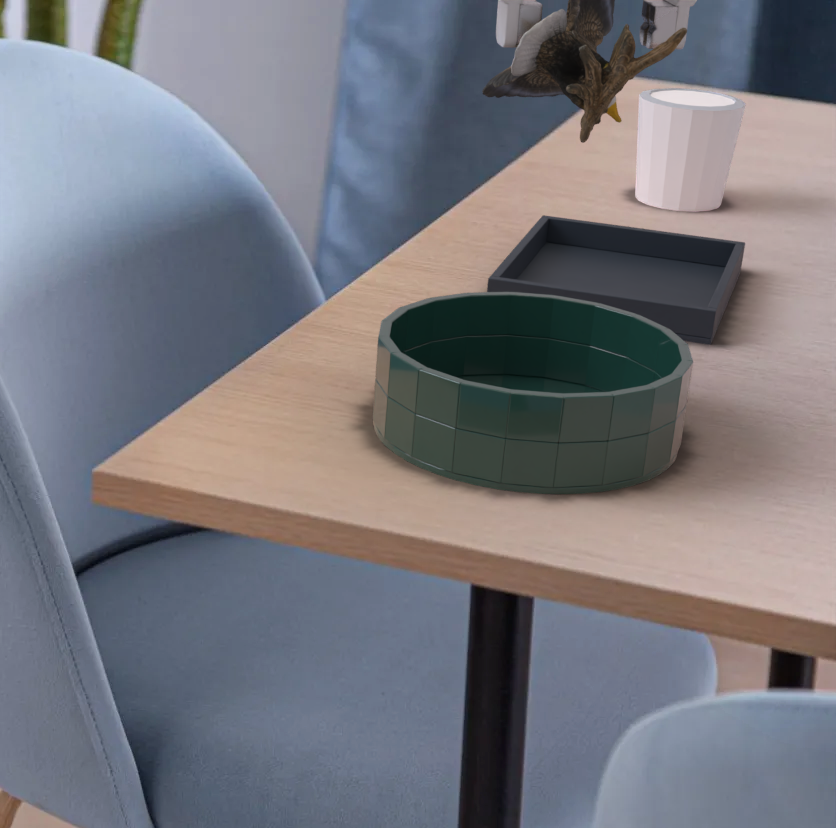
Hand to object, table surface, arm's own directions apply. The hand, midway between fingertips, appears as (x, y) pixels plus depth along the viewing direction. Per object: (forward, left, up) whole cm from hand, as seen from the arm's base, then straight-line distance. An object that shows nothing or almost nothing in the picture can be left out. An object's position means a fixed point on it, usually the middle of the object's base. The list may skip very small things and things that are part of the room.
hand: (588, 46), depth 73 cm
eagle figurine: (+1, 0, -3) cm, 3 cm away
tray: (-9, -20, -17) cm, 27 cm away
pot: (+1, +1, -17) cm, 17 cm away
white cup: (-18, -39, -17) cm, 47 cm away
